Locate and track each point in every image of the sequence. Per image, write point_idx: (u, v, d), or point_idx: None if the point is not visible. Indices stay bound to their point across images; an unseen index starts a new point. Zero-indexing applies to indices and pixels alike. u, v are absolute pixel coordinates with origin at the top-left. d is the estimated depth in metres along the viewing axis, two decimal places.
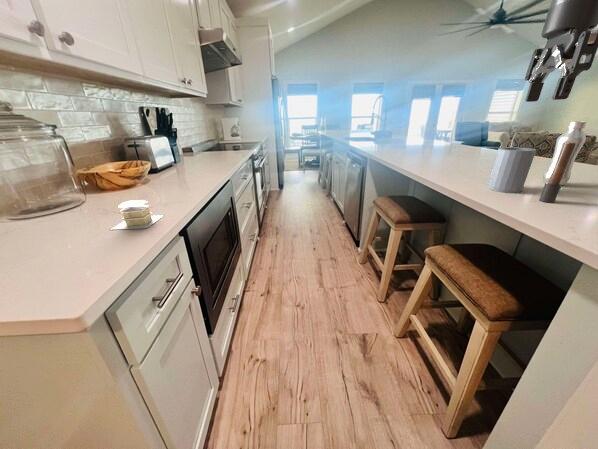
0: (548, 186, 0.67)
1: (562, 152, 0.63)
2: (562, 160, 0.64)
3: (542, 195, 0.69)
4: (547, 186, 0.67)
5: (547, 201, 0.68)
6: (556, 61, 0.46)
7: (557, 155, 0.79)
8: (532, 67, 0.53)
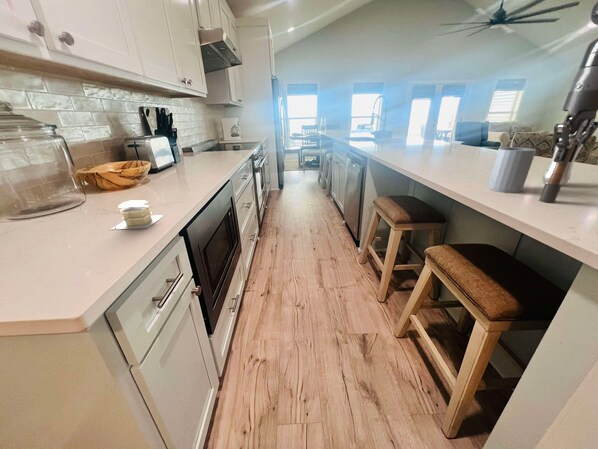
0: (548, 186, 0.67)
1: None
2: None
3: (542, 195, 0.69)
4: (547, 186, 0.67)
5: (547, 201, 0.68)
6: None
7: None
8: None
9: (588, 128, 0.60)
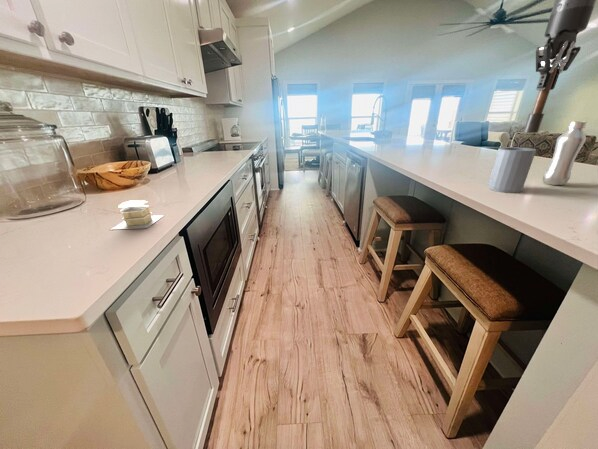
0: (532, 116, 0.69)
1: None
2: None
3: (526, 126, 0.71)
4: (530, 116, 0.69)
5: (531, 131, 0.70)
6: None
7: (557, 155, 0.79)
8: None
9: (568, 51, 0.62)
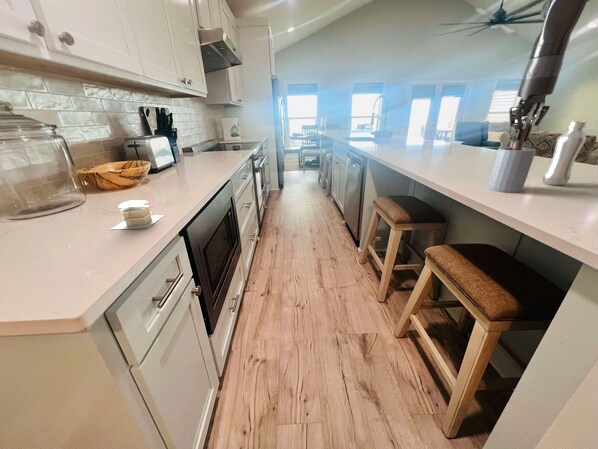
0: None
1: None
2: None
3: None
4: None
5: None
6: None
7: (557, 155, 0.79)
8: (532, 116, 0.73)
9: (538, 111, 0.70)
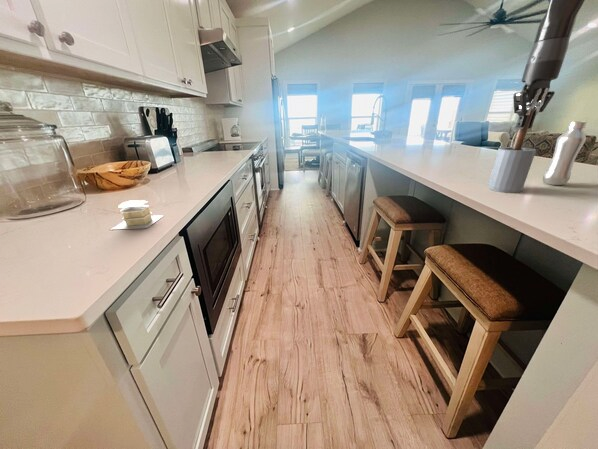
0: None
1: None
2: None
3: None
4: None
5: None
6: None
7: (557, 155, 0.79)
8: (536, 103, 0.72)
9: (543, 96, 0.68)
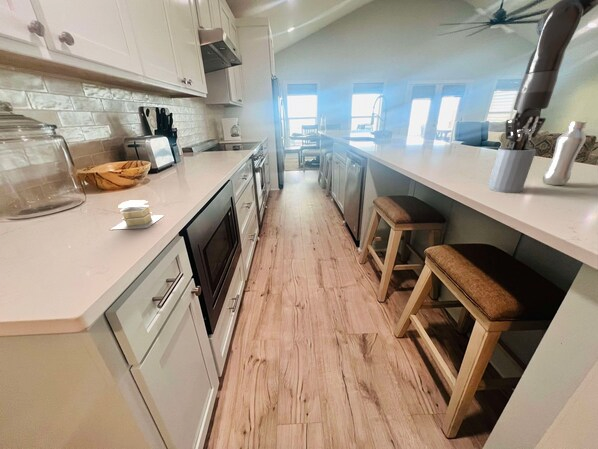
0: None
1: None
2: None
3: None
4: None
5: None
6: None
7: (557, 155, 0.79)
8: None
9: (534, 124, 0.71)
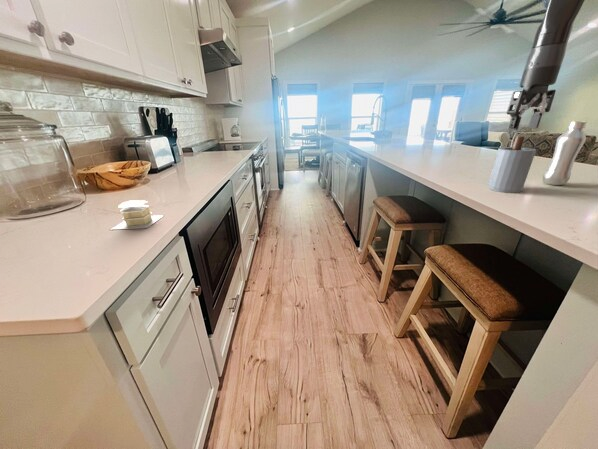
0: None
1: (514, 144, 0.75)
2: None
3: None
4: None
5: None
6: None
7: (557, 155, 0.79)
8: (540, 103, 0.73)
9: (543, 100, 0.69)
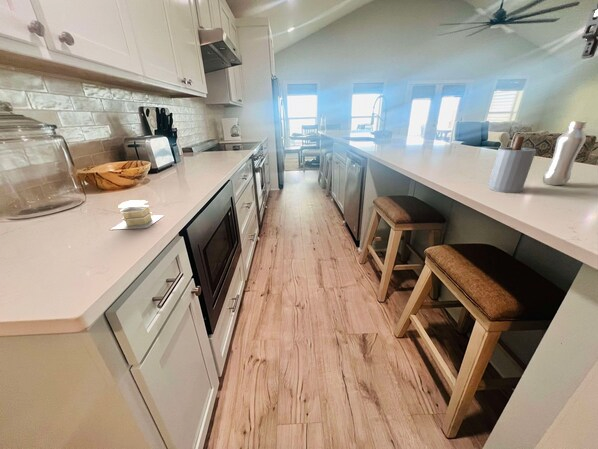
0: None
1: (514, 144, 0.75)
2: None
3: None
4: None
5: None
6: None
7: (557, 155, 0.79)
8: None
9: None
